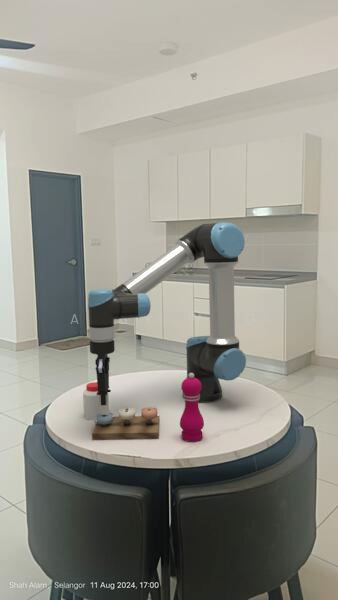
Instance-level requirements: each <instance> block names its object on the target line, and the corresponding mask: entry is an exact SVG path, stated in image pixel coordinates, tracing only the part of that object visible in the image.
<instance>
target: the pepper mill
mask: <svg viewBox="0 0 338 600" xmlns="http://www.w3.org/2000/svg"><path fill="white" fill-rule="evenodd" d="M188 377H189V378H187V377H186V378H184V380H183V381H182V382H181V391H182V397H183V396H184V397H183V398H182V399H183V400H184V409H183V412H182V414H181V417H180V420H179V427H180V429H182V431H181V439H182V440H183V441H186V442H193V443H194V442H198V441H201V440H202V439H203V431H202V429H203V428H205V427H204V426H205V423H204V417H203V415H202V413H201V411H200V409H199V407H200V406H199V402H198V401H199V399H200V394H199V392H200V391H201V388H202V386H201V382H200V381H199V380H198V379H196V378H194V374H193V373H189V375H188ZM183 392H184V394H183Z"/></svg>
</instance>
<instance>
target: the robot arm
mask: <svg viewBox="0 0 338 600" xmlns="http://www.w3.org/2000/svg"><path fill="white" fill-rule="evenodd" d="M245 242H246V241H245V235H244V234H243V232H242V229H241V228H239V226H237V225H236V224H234V223H231V222H224V221H222V222H215V223H214V222H213V223H203V224H200V225H198V226H196V227H194V228H193V229H191V230H190V231H189V232H187V233H186V234H184V235H183V236H181V237H180V238H179V239H177V241H175V244H174V246H173V247H171V248H170V249H169V250H167V251H166V252H165V253H163V254H161V255H160V256H158V257H157V258H156V259H155V260H153V261H152V262H150V263H149V264H148V265H147V266H145V267H143V268H142V269H141V270H140V271H138V272H137V273H135V274H134V275H132V276H131V277H130V278H128V279H127V280H125V281H124V282H123V283H122V284H120V285H119V286H117V287H115V288H114V289H110V288H109V289H107V288H99V289H98V288H97V289H92V290H90V291H89V292H88V297H87V302H88V303H87V307H88V309H87V311H88V322H89V325H88V326H89V328H88V329H87V333H89V340H90V341H89V352H90V353H91V354H93V355H97V357H96V359H95V360H94V361H95V366H96V367H95V372H96V373H95V374H96V382H97V385H98V392H97V395H99V408H100V415H108V414H109V413H110V406H109V405H110V402H109V401H110V400H109V393H111V392H112V391H111V389H110V380H109V379H110V373H109V372H110V362H111V360H110V359H111V358H110V357H109V356H108V355H110V354H113V353H114V352H115V351H116V350H115V348H116V347H115V340H114V339H115V323H114V322H115V320H121V319H122V320H123V319H135V318H138V319H140V318H143V317H147V316H149V315H150V312H151V306H152V305H151V301H150V297H149V296H148V294H147V293H149V292H150V291H151V290H153V289H154V288H155V287H157V286H158V285H159V284H162V282H163V281H165V280H166V279H168V278H169V277H170V276H172V275H173V274H174V273H176V272H177V271H179V270H181V268H183V267H184V266H185V265H186V264H192V263H194V262H195V261H197V260H199V259H202V258H203V263H204V265H205V266H206V267H207V268H208V294H209V295H208V296H209V298H208V299H209V331H210V332H209V335H200V336H192V337H189V338H188V339H187V341H186V347H185V348H186V349H185V350H186V378H189V377H188V375H189V373H193V374H194V378H196V379H198V380H199V381H200V382H201V386H202V388H201V391H200V392H199V394H200V399H199V401H198V403H211V402H216V401H219V400H221V399H222V398H223V388H222V386H221V383H220V380H223V381H234V380H235V379H237V378H239V377H240V376H241V375H242V373H243V372H244V371H245V368H246V363H247V358H246V354H245V353H244V352H243V351H242V349H240V339H239V338H238V337H237V336H236V327H235V326H236V324H235V322H236V321H235V272H234V271H235V270H234V269H235V266H236V265H237V264H238V263H239V256H240V255H241V253H242V252H243V250H244V249H245ZM183 394H184V392H183V391H182V397H184V396H183Z"/></svg>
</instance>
